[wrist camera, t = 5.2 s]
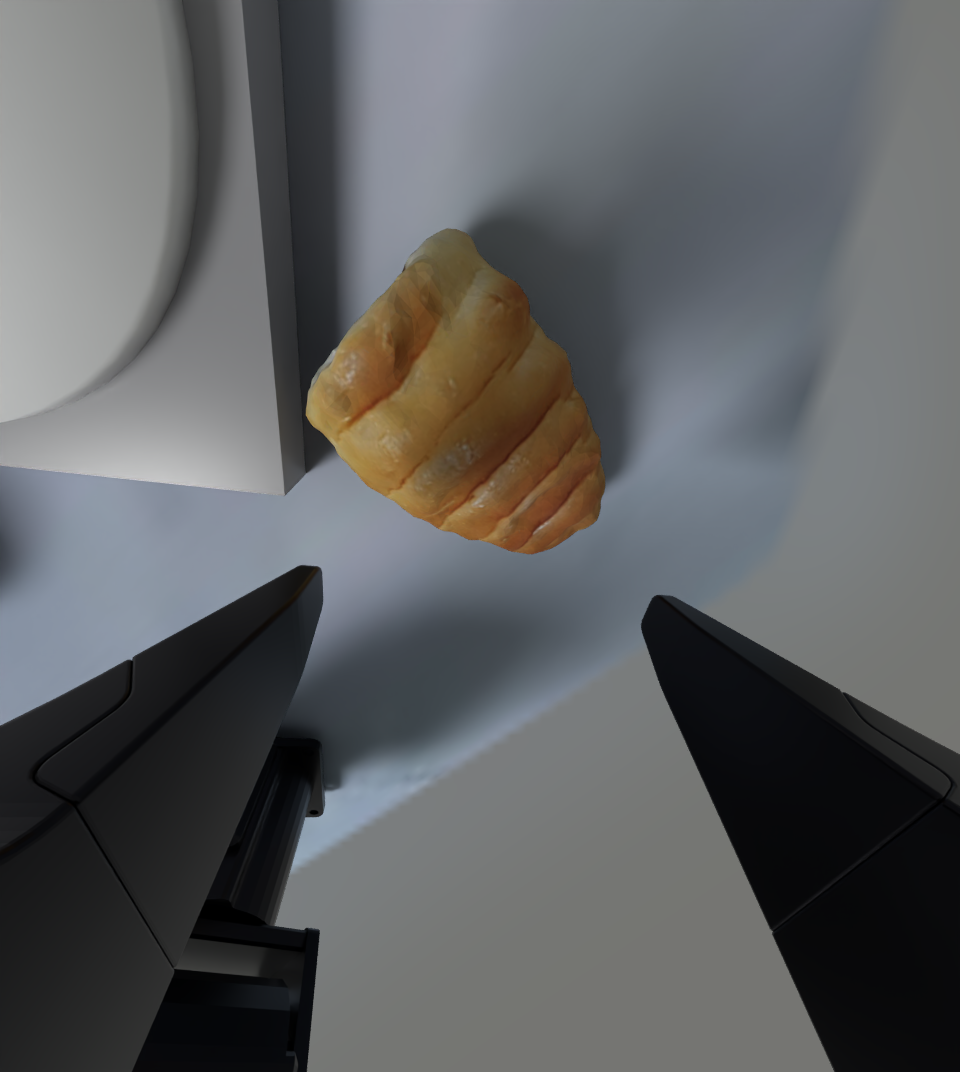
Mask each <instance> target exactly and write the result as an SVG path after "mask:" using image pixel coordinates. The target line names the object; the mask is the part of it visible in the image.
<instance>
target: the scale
mask: <svg viewBox="0 0 960 1072" xmlns="http://www.w3.org/2000/svg"><path fill="white" fill-rule="evenodd" d="M0 466H9V467H19V468H28V469H37V470H47V471H56V472H65V473H75V474H84V475H93V476H103V477H112V478H122V479H131V480H140V481H150V482H159V483H168V484H178V485H187V486H197V487H206V488H215V489H225V490H234V491H243V492H253V493H262V494H271V495H281V496H285V495H286V494H287V493H288V492H289V491H290V490H291V489H292V488H293V487H294V486H295V485H296V484H297V483H298V482H299V481H300V480H301V479H302V477H303V476H304V475H305V474H306V473H305V456H304V438H303V421H302V404H301V387H300V370H299V353H298V335H297V318H296V301H295V284H294V267H293V250H292V233H291V215H290V198H289V181H288V164H287V147H286V130H285V112H284V95H283V78H282V61H281V44H280V27H279V10H278V0H0Z"/></svg>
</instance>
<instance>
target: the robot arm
mask: <svg viewBox="0 0 960 1072" xmlns="http://www.w3.org/2000/svg"><path fill="white" fill-rule="evenodd" d="M322 605H323V581H322V570H321V568H320V567H318V566H307V565H300V566H298V567H296V568H294V569H292V570H290V571H288V572H287V573H285V574H283V575H281V576H279V577H278V578H276V579H274V580H272V581H270V582H268V583H267V584H265V585H263V586H261V587H259V588H257V589H256V590H254V591H252V592H250V593H248V594H247V595H245V596H243V597H241V598H239V599H237V600H236V601H234V602H232V603H230V604H228V605H227V606H225V607H223V608H221V609H219V610H217V611H216V612H214V613H212V614H210V615H208V616H207V617H205V618H203V619H201V620H199V621H197V622H196V623H194V624H192V625H190V626H188V627H187V628H185V629H183V630H181V631H179V632H177V633H176V634H174V635H172V636H170V637H168V638H166V639H165V640H163V641H161V642H159V643H157V644H156V645H154V646H152V647H150V648H148V649H146V650H145V651H143V652H141V653H139V654H137V655H135V656H134V657H133V659H132V660H126V661H124V662H122V663H121V664H119V665H117V666H115V667H113V668H112V669H110V670H108V671H106V672H104V673H102V674H101V675H99V676H97V677H95V678H93V679H91V680H89V681H87V682H86V683H84V684H82V685H80V686H78V687H76V688H74V689H72V690H70V691H68V692H67V693H65V694H63V695H61V696H59V697H57V698H55V699H53V700H51V701H49V702H47V703H45V704H43V705H41V706H39V707H37V708H35V709H33V710H31V711H29V712H27V713H25V714H23V715H21V716H19V717H17V718H15V719H13V720H11V721H9V722H7V723H5V724H3V725H1V726H0V1072H307V1063H308V1052H309V1041H310V1031H311V1020H312V1009H313V999H314V987H315V977H316V966H317V956H318V945H319V934H320V930H319V929H313V928H306V929H305V930H298V929H291V928H284V927H277V926H275V922H276V919H277V916H278V912H279V909H280V905H281V901H282V898H283V894H284V891H285V887H286V884H287V880H288V877H289V873H290V870H291V866H292V863H293V859H294V856H295V852H296V849H297V845H298V842H299V838H300V835H301V831H302V828H303V824H304V820H305V817H319V816H321V815H322V814H323V811H324V807H325V792H324V775H323V758H322V744H321V743H320V742H319V741H318V740H315V739H294V738H275V737H276V735H277V732H278V730H279V728H280V725H281V723H282V721H283V718H284V716H285V714H286V711H287V709H288V707H289V704H290V702H291V700H292V698H293V695H294V693H295V691H296V688H297V686H298V684H299V681H300V679H301V676H302V674H303V671H304V668H305V664H306V661H307V658H308V654H309V651H310V648H311V644H312V641H313V637H314V634H315V630H316V627H317V624H318V620H319V617H320V613H321V610H322ZM641 630H642V633H643V636H644V639H645V642H646V645H647V648H648V651H649V654H650V657H651V660H652V663H653V666H654V669H655V672H656V675H657V677H658V680H659V683H660V686H661V689H662V691H663V693H664V696H665V698H666V700H667V702H668V705H669V707H670V709H671V711H672V713H673V716H674V718H675V720H676V722H677V724H678V727H679V729H680V731H681V733H682V735H683V738H684V740H685V742H686V744H687V747H688V749H689V751H690V753H691V755H692V757H693V760H694V762H695V764H696V766H697V769H698V771H699V773H700V775H701V778H702V780H703V782H704V784H705V786H706V789H707V791H708V792H709V795H710V797H711V800H712V802H713V804H714V806H715V808H716V810H717V813H718V815H719V817H720V819H721V822H722V824H723V826H724V828H725V830H726V833H727V835H728V837H729V839H730V842H731V844H732V846H733V848H734V850H735V853H736V855H737V857H738V859H739V861H740V864H741V866H742V868H743V870H744V872H745V875H746V877H747V879H748V881H749V884H750V885H751V888H752V890H753V892H754V895H755V897H756V899H757V901H758V903H759V906H760V908H761V910H762V912H763V914H764V917H765V919H766V921H767V923H768V925H769V928H770V929H771V930H772V931H773V932H772V935H773V937H774V939H775V942H776V944H777V946H778V948H779V951H780V952H781V955H782V957H783V959H784V962H785V964H786V966H787V968H788V970H789V973H790V975H791V977H792V979H793V982H794V984H795V986H796V988H797V990H798V992H799V995H800V997H801V999H802V1001H803V1004H804V1006H805V1008H806V1010H807V1012H808V1015H809V1017H810V1019H811V1021H812V1024H813V1026H814V1028H815V1030H816V1032H817V1034H818V1037H819V1039H820V1041H821V1044H822V1046H823V1047H824V1050H825V1052H826V1055H827V1057H828V1059H829V1061H830V1063H831V1066H832V1068H833V1070H834V1072H960V754H958V753H956V752H954V751H952V750H950V749H948V748H946V747H945V746H943V745H941V744H939V743H937V742H935V741H933V740H931V739H929V738H928V737H926V736H924V735H922V734H920V733H918V732H916V731H914V730H912V729H911V728H909V727H907V726H905V725H903V724H901V723H899V722H898V721H896V720H894V719H892V718H890V717H888V716H887V715H885V714H883V713H881V712H879V711H877V710H876V709H874V708H872V707H870V706H868V705H867V704H865V703H863V702H861V701H859V700H858V699H856V698H854V697H852V696H851V695H849V694H847V693H844V692H843V693H842V692H841V691H840V690H839V689H838V688H836V687H834V686H833V685H831V684H829V683H827V682H825V681H824V680H822V679H820V678H818V677H816V676H815V675H813V674H811V673H809V672H807V671H806V670H804V669H802V668H800V667H798V666H797V665H795V664H793V663H791V662H790V661H788V660H786V659H784V658H783V657H781V656H779V655H777V654H775V653H774V652H772V651H770V650H768V649H766V648H765V647H763V646H761V645H759V644H757V643H756V642H754V641H752V640H750V639H749V638H747V637H745V636H743V635H741V634H740V633H738V632H736V631H734V630H732V629H731V628H729V627H727V626H725V625H724V624H722V623H720V622H718V621H716V620H715V619H713V618H711V617H709V616H708V615H706V614H704V613H702V612H700V611H699V610H697V609H695V608H693V607H692V606H690V605H688V604H686V603H684V602H683V601H681V600H679V599H677V598H675V597H673V596H667V595H656V596H654V597H653V598H652V600H651V602H650V604H649V606H648V608H647V611H646V613H645V615H644V617H643V619H642V623H641Z"/></svg>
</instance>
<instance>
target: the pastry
mask: <svg viewBox="0 0 960 1072" xmlns="http://www.w3.org/2000/svg"><path fill="white" fill-rule="evenodd" d="M306 416H307V418H308V420H309V421H310V423H311V424H312V426H313V427H315V428H316V429H318V430H319V431H320V432H322V433H323V434H324V435H325V436H326V437H327V438H328V440H329V441H330V442H331V443H332V444H333V445H334V447H335V449H336V451H337V453H338V454H339V456H340V457H341V458H342V459H343V460H344V461H345V462H346V463H347V464H348V465H349V466H350V468H351V469H352V470H353V471H354V472H356V473H357V474H358V476H359V477H360V478H361V480H362V481H363V482H364V483H365V484H366V485H367V486H368V487H370V488H372V489H373V490H375V491H377V492H379V493H381V494H382V495H384V496H385V497H387V498H389V499H391V500H393V501H395V502H396V503H397V504H398V505H400V506H401V507H402V508H403V509H404V510H406V511H407V512H408V513H410V514H411V515H412V516H414V517H417V518H420V519H423V520H425V521H427V522H429V523H431V524H432V525H434V526H435V527H437V528H438V529H440V530H443V531H449V532H454V533H457V534H458V535H460V536H462V537H464V538H466V539H468V540H481V541H485V542H489V543H492V544H494V545H497V546H499V547H502V548H504V549H507V550H509V551H512V552H519V553H525V554H534V553H538V552H542V551H545V550H548V549H551V548H553V547H555V546H556V545H558V544H560V543H561V542H562V541H564V540H566V539H567V538H569V537H570V536H571V535H573V534H574V533H575V532H576V531H578V530H581V529H585V528H587V527H589V526H590V525H592V524H593V523H594V522H595V521H597V518H598V516H599V512H600V508H601V498H602V495H603V494H604V490H605V475H604V470H603V468H602V465H601V462H600V458H601V447H600V439H599V437H598V435H597V434H596V433H595V431H594V430H593V426H592V422H591V418H590V417H589V415H588V412H587V408H586V404H585V402H584V400H583V398H582V397H581V396H580V394H579V393H578V392H577V390H576V388H575V387H574V383H573V379H572V375H571V365H570V363H569V361H568V358H567V353H566V351H564V350H563V349H562V348H561V347H560V346H559V345H558V344H557V343H556V342H554V341H552V340H550V339H549V338H548V337H547V336H546V335H545V334H544V332H543V330H542V328H541V327H540V326H539V325H538V324H537V323H536V322H535V320H534V319H533V318H532V317H531V316H530V306H529V302H528V299H527V296H526V295H525V293H524V292H523V290H522V289H521V287H520V286H519V285H518V284H517V283H516V282H515V281H513V280H511V279H510V278H508V277H507V276H505V275H503V274H502V273H500V272H498V271H497V270H495V269H493V268H492V267H491V266H490V265H489V264H488V263H487V262H486V261H485V260H484V259H483V258H482V257H481V255H480V254H479V253H478V251H477V249H476V246H475V244H474V242H473V240H472V238H471V237H470V236H469V235H467V234H466V233H465V232H462V231H459V230H457V229H448V228H447V229H445V230H442V231H440V232H438V233H436V234H434V235H433V236H431V237H429V238H428V239H426V240H425V241H424V242H423V243H422V244H421V246H420V247H419V248H418V249H417V250H416V251H415V252H414V253H412V254H411V255H410V257H409V258H408V260H407V262H406V264H405V266H404V269H403V271H402V273H401V274H400V275H399V276H398V277H397V279H396V280H395V282H394V283H393V284H392V285H391V286H390V288H389V289H388V290H387V291H386V292H385V293H384V294H383V295H382V296H380V297H379V298H378V299H377V300H376V301H375V302H374V303H373V304H372V305H371V307H370V308H369V309H368V310H367V311H366V313H365V314H364V315H363V316H361V317H360V318H359V319H358V320H357V321H356V322H355V323H354V324H353V325H352V327H351V328H350V329H349V331H348V332H347V333H346V335H345V336H344V338H343V339H342V341H341V342H340V344H339V346H338V347H337V348H335V349H334V350H333V351H332V352H331V354H330V355H329V357H328V359H327V360H326V361H325V363H324V364H323V365H322V366H321V367H320V368H319V369H318V371H317V373H316V374H315V376H314V378H313V379H312V382H311V387H310V389H309V391H308V399H307V407H306Z"/></svg>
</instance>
